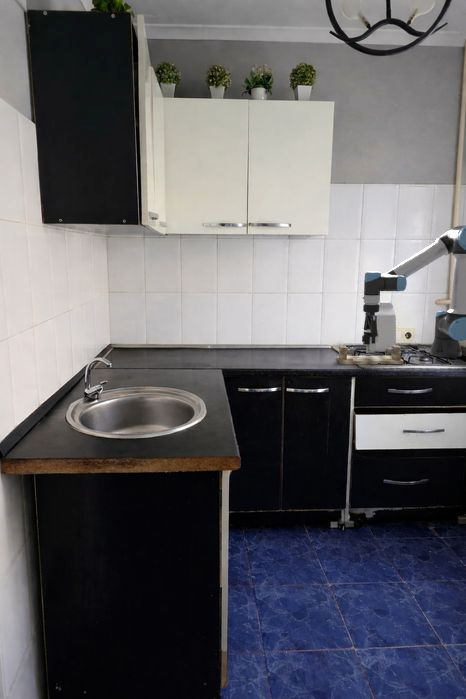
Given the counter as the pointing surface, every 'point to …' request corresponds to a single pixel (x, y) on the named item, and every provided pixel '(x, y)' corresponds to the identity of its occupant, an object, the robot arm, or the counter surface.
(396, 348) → the pipe stand
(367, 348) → the pneumatic valve
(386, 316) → the milk
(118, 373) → the counter surface
